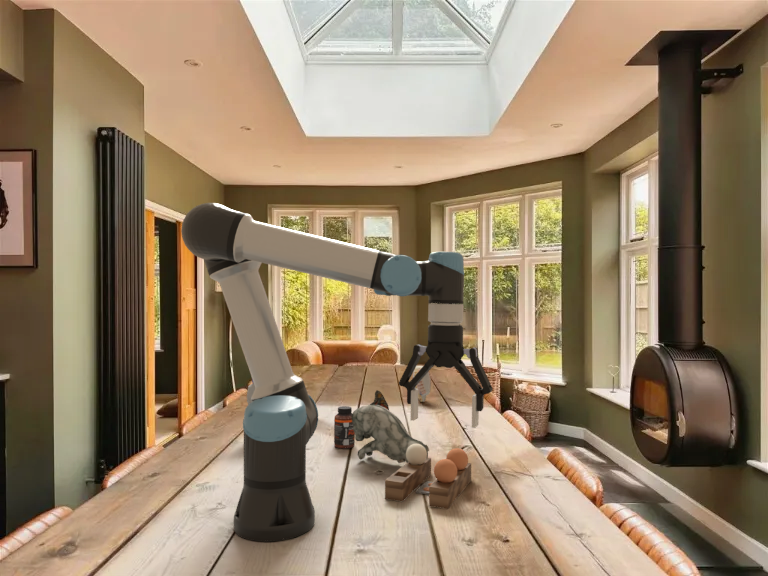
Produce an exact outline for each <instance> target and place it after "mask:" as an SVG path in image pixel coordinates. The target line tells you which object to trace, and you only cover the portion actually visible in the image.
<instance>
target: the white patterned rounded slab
mask: <svg viewBox="0 0 768 576" xmlns="http://www.w3.org/2000/svg"><path fill="white" fill-rule="evenodd" d="M423 366H424V365H417V366H416V367H415V369H414V371H413V373H412V379H413V378H414V376H415V375H416V374H417V373H418V372H419V371H420V370H421V368H422V367H423ZM414 389H419V390H418V401H419V402H420V403H425V401H426V399H427V396H428V395H430V393H431V389H432V379H431V373H430V371H429V372H428V373H427V374H426V375H425V376H424V377H423V378H422V380H421V381H420V382H419V383H418V384H417V385H416V386H415V388H414Z"/></svg>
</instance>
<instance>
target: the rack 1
mask: <svg viewBox="0 0 768 576" xmlns="http://www.w3.org/2000/svg"><path fill="white" fill-rule="evenodd" d="M430 476H432V458H431V457H428V458H426V460H425V462H424V463H423V464H421V465H412V464H410V463H409V462H408V463H406V462H405V464H403V466H401V467H400V468H398V469H397V470H396V471H395V472H393V473H392V474H390V476H388V477H387V478H386V479H384V499H385V500H390V501H397V502H400V503H402V502H403V501H405V500H406V499H408V498H409V496H411V494H412V493H413V492H414V491H416V490H417V489H418V488H419V487H420V486H422V485H423V484H424V483H425V482H426V481H427V479H428V478H430Z"/></svg>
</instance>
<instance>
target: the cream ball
mask: <svg viewBox="0 0 768 576" xmlns="http://www.w3.org/2000/svg"><path fill="white" fill-rule="evenodd" d="M406 458H407V460H408V462H409V463H410V464H412V465H421V464H423V463H424V462H425V460H426V458H427V452H426V449H425V448H424V447H423V446H422V445H421V444H412V445H410V446H409V447H408V448H407V451H406Z"/></svg>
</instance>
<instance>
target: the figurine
mask: <svg viewBox="0 0 768 576" xmlns="http://www.w3.org/2000/svg"><path fill="white" fill-rule="evenodd" d="M351 413H352V416H351V417H352V423H353V430H354V433H355V441H356V442H363V441H364V440H367V439H370V438H372V439H374V440H371V441H369V442H367V443H366V444H364V446H362V447H361V448H360V449H359V450H358V451H357V457H358V459H359V460H363V459H364V458H365V457H366V456H367V457H371V456H372V455H373V452H375V451H378V452H380V453H381V454H383V455H385V456H386V457H388V458H389V459H390V460H393V461H397V463H398V464H402V463H405V464H406V463H408V460H407V458H406V451H407V448H408V447H409V446H410V445H412V444H421V445H422V446H423V447H424V448H425V449H426V452H427V458H429V452H430V449H429V445H428V444H424V442H423V441H420V440H419V439H416V438H413V437H412V436H411V435H410V433H409V432H408V431H407V428H406V427H405V425H404V424H403V422H402V421H401V420H400V418H399V417H398V416H397V415H395V414H394V412H392V411H391V410H390V409H389V410H388V409H386V408H384V407H382V406H379V405H370V404H367V405H363V406H360V407H358V408H356V409H355V410H353V412H351Z"/></svg>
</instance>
